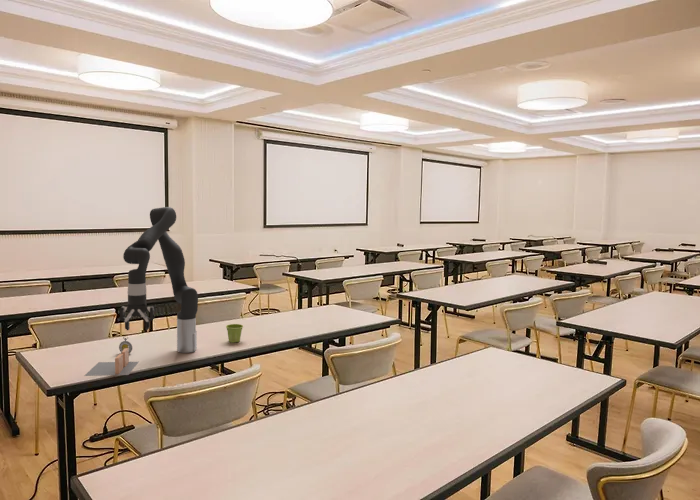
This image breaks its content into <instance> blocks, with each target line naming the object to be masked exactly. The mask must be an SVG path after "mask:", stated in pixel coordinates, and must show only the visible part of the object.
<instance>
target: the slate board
mask: <svg viewBox="0 0 700 500" xmlns="http://www.w3.org/2000/svg"><path fill="white" fill-rule="evenodd" d="M139 362H140V361H129V363H128V364H127V365H126V367H123V370H122V371H121V372H120V373H119V374H115V361H99V362H97V363H96V364H95V365H94V366H93V367H92V368H91V369H90V370H89V371H88V372H86V373H85V374H84V377H87V376H90V377H93V376H129V375H130V374H131V373H132V371H133V370H134V369H135V368H136V367H137V365H138V364H139Z"/></svg>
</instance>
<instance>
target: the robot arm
mask: <svg viewBox="0 0 700 500" xmlns="http://www.w3.org/2000/svg"><path fill="white" fill-rule="evenodd" d="M149 219H150V223H151V227H148V229H146V230H145V231H144V232H143V233H141V235H140V236H139V238H138V239H137V240H136V241H134V242H133V243H132V244H131V245H129V246H128V247H126V249H125V250H124V251H123V252H124V253H123V255H122V258H123V261H124V262H125V263H127V264H131V265H138V266H137V268H133V269H130V270H129V271H128V273H127V278H128V279H127V280H128V284H127V306H124V305H123V306H121V307H119V320H120V321H123V322H124V330H126V331H129V330H131V329H130V319H131V318H132V317H142V318H143V319H144V320H145V327H144V329H145V331H148V330H149V329H150V326H151V325H150V324H151V323H150V322H151V321H152V322H153V320H154V319H155V306H154V305H153V306H148V305H147V284H146V283H147V280H146V277H147V269H148V265H149V262H150V259H151V258H150V257H151V254H150V251H152V249H153V248H154V246H155V245H156V244H157V242H158V243H159V246H160V249H161V253H162V257H163V260H164V263H165V265H166V269H167V272H168V276H169V279H170V282H171V283H170V284H171V286H172V287H171V289H172V294H173V297H174V300H175V301H176V302H177V303H178V304H180V311H178V312H177V314H176V351H177V352H178V353H181V354H183V353H184V354H188V353H189V354H190V353H194V352H196V351H197V341H198V340H197V339H198V338H197V332H198V331H197V318H196V317H197V313H198V309H199V294H198V291H197V290H196V289H195V288H194V287H190V286H188V284H187V281H186V278H185V268H186V267H185V266H186V261H185V260H186V259H185V256H184V252H183V250H182V248H181V247H180V245H179V244H178V243H177V242H176V241H175V240H174V239H173V238H172V237H171V236H170V235H169V234H168V232H167V231H168V230H169V229H170V228H172V227H173V225H174V224H175V223H176V222H177V221H176V220H177V212H176V210H175V208H173V207H171V206H164V207H157V208H155V207H154V208H152V209H151V210H150V211H149ZM126 311H127V312H128V314H127V316H126V315H125V312H126ZM147 311H148V312H149V315H148V313H147ZM125 316H126V317H125Z"/></svg>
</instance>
